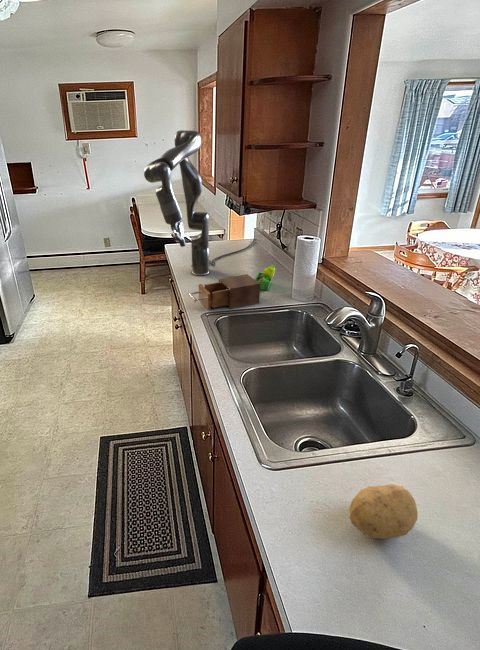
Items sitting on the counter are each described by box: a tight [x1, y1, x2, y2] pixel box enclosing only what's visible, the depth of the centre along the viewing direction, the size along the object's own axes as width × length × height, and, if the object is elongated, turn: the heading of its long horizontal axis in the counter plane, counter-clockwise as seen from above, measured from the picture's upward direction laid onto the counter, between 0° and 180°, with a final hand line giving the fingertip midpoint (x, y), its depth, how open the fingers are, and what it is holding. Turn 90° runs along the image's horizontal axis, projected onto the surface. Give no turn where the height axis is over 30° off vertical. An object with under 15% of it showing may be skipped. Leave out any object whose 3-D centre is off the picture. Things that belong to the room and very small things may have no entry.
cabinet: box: [218, 273, 261, 309], centre depth 178 cm, size 15×13×10 cm
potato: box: [348, 483, 419, 539], centre depth 78 cm, size 10×14×8 cm
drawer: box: [187, 281, 229, 311], centre depth 174 cm, size 19×11×8 cm, turn 108°
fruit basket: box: [254, 264, 276, 291], centre depth 190 cm, size 11×9×11 cm
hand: (183, 245), depth 171 cm, fingers closed
